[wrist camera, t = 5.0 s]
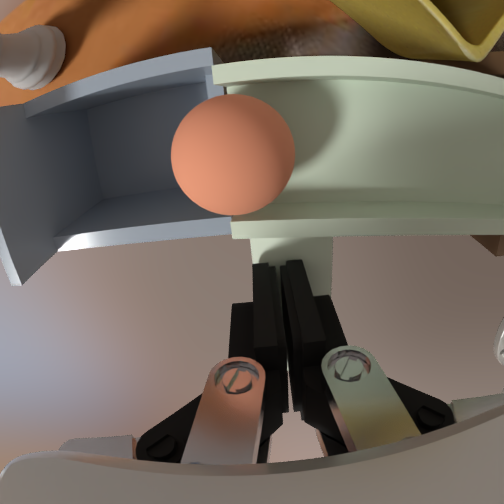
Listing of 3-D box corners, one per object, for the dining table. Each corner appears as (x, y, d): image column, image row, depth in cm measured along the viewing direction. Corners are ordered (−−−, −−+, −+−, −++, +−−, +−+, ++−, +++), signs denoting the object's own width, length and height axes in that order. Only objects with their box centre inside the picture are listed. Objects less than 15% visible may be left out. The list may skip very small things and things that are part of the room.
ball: (219, 193, 10) (312, 197, 9) (157, 229, 8) (271, 241, 6) (207, 100, 9) (305, 90, 7) (136, 108, 6) (257, 85, 5)
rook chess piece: (34, 103, 15) (-56, 120, 8) (12, 59, 13) (-73, 63, 6) (80, 57, 14) (-11, 48, 7) (55, 13, 12) (-29, -6, 5)
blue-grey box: (241, 190, 18) (226, 273, 9) (100, 208, 18) (11, 285, 10) (227, 68, 15) (194, 26, 6) (80, 101, 15) (-34, 117, 7)
